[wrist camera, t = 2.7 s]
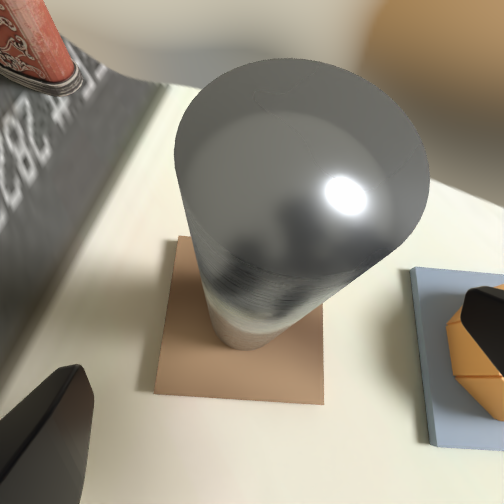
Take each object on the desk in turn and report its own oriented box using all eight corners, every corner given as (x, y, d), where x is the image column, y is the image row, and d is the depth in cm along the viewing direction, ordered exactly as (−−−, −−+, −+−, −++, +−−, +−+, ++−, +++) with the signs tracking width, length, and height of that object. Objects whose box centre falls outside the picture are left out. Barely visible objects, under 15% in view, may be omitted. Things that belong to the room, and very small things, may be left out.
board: (319, 403, 16) (324, 405, 15) (156, 393, 16) (153, 393, 15) (317, 253, 19) (321, 248, 18) (180, 241, 19) (178, 235, 18)
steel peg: (279, 353, 16) (447, 287, 4) (206, 347, 16) (152, 261, 4) (281, 283, 17) (414, 72, 5) (214, 277, 17) (192, 45, 5)
